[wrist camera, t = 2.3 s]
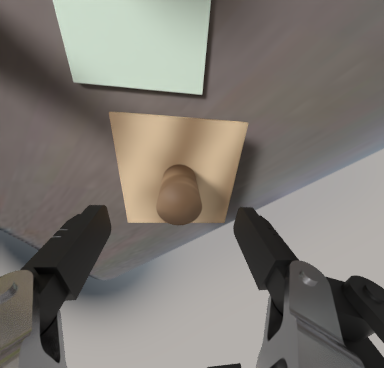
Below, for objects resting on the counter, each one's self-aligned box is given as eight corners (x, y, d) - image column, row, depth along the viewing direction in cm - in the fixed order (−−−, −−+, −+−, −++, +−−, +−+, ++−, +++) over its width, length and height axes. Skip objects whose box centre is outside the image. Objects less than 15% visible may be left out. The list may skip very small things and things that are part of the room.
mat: (218, -94, 10) (220, -105, 9) (201, 94, 15) (202, 94, 14) (23, -139, 9) (13, -155, 8) (77, 83, 14) (73, 82, 13)
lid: (243, 122, 13) (281, 131, 8) (222, 217, 18) (237, 256, 13) (114, 111, 12) (69, 115, 7) (130, 216, 17) (111, 259, 12)
